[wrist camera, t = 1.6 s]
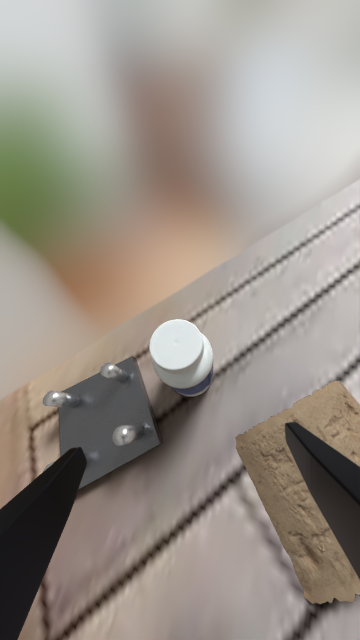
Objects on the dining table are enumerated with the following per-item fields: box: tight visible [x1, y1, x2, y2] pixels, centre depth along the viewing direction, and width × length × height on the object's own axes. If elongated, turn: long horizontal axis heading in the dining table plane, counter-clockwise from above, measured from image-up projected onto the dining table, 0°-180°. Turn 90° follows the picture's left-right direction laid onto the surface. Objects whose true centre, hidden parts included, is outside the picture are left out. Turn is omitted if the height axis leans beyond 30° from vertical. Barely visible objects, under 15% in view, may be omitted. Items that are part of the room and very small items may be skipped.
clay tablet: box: [235, 381, 360, 604], centre depth 14 cm, size 14×10×3 cm
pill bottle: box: [150, 320, 213, 396], centre depth 16 cm, size 5×5×10 cm
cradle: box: [43, 356, 163, 490], centre depth 18 cm, size 10×10×5 cm
